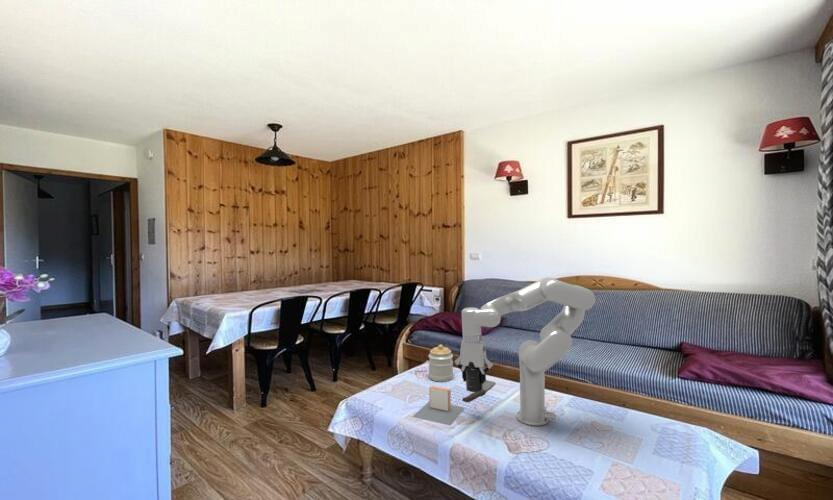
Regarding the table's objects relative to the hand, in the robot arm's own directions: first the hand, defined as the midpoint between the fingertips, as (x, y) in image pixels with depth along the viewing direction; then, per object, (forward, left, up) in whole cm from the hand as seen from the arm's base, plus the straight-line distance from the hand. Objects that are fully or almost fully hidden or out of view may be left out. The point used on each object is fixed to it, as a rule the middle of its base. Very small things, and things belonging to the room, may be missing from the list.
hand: (474, 381), depth 155 cm
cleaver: (+8, -27, -16) cm, 32 cm away
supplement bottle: (0, 0, -3) cm, 3 cm away
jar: (+31, -36, -16) cm, 50 cm away
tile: (+16, -1, -15) cm, 22 cm away
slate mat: (+15, +2, -15) cm, 21 cm away
